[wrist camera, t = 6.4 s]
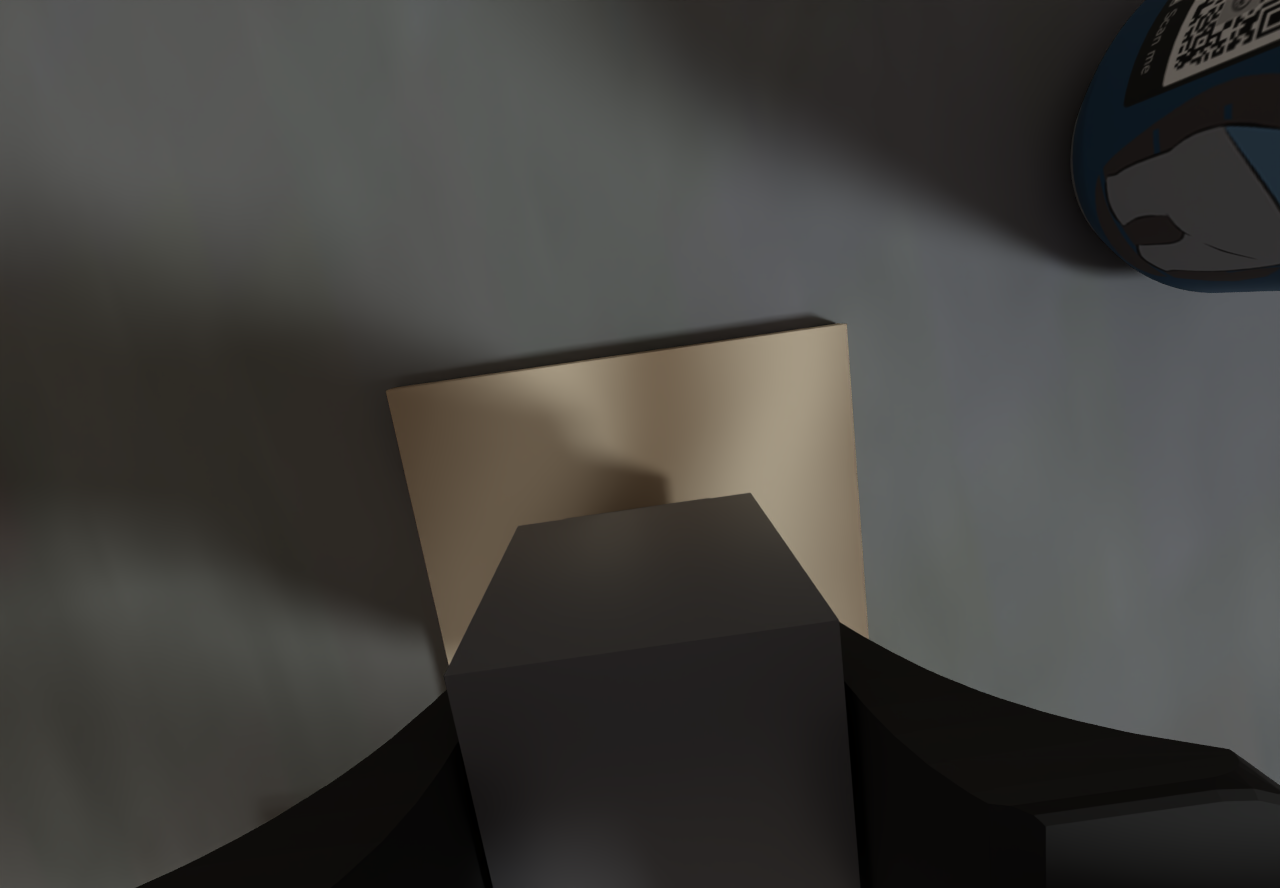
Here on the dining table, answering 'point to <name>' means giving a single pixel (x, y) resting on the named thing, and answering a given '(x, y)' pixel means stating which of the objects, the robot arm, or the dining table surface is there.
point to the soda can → (1187, 145)
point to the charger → (656, 707)
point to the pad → (637, 454)
